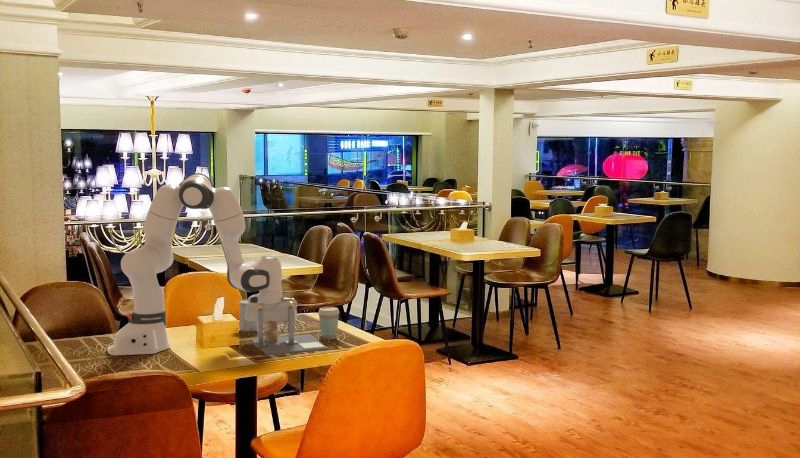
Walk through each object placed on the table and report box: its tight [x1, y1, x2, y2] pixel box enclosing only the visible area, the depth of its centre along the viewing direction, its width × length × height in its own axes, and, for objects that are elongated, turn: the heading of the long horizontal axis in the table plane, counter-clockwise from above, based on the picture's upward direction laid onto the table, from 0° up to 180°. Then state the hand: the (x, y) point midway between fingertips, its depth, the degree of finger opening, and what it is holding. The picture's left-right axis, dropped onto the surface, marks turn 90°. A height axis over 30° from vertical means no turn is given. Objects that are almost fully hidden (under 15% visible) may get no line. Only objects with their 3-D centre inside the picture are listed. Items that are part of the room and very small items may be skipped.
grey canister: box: [238, 298, 258, 332], centre depth 345 cm, size 10×10×12 cm
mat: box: [251, 334, 329, 357], centre depth 320 cm, size 24×24×1 cm
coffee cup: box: [317, 306, 340, 341], centre depth 332 cm, size 8×8×12 cm
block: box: [264, 321, 278, 342], centre depth 325 cm, size 4×4×8 cm
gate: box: [253, 302, 298, 349], centre depth 317 cm, size 16×4×16 cm, turn 112°
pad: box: [299, 341, 326, 349], centre depth 316 cm, size 8×8×1 cm
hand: (271, 332), depth 325 cm, fingers open, 8 cm apart
